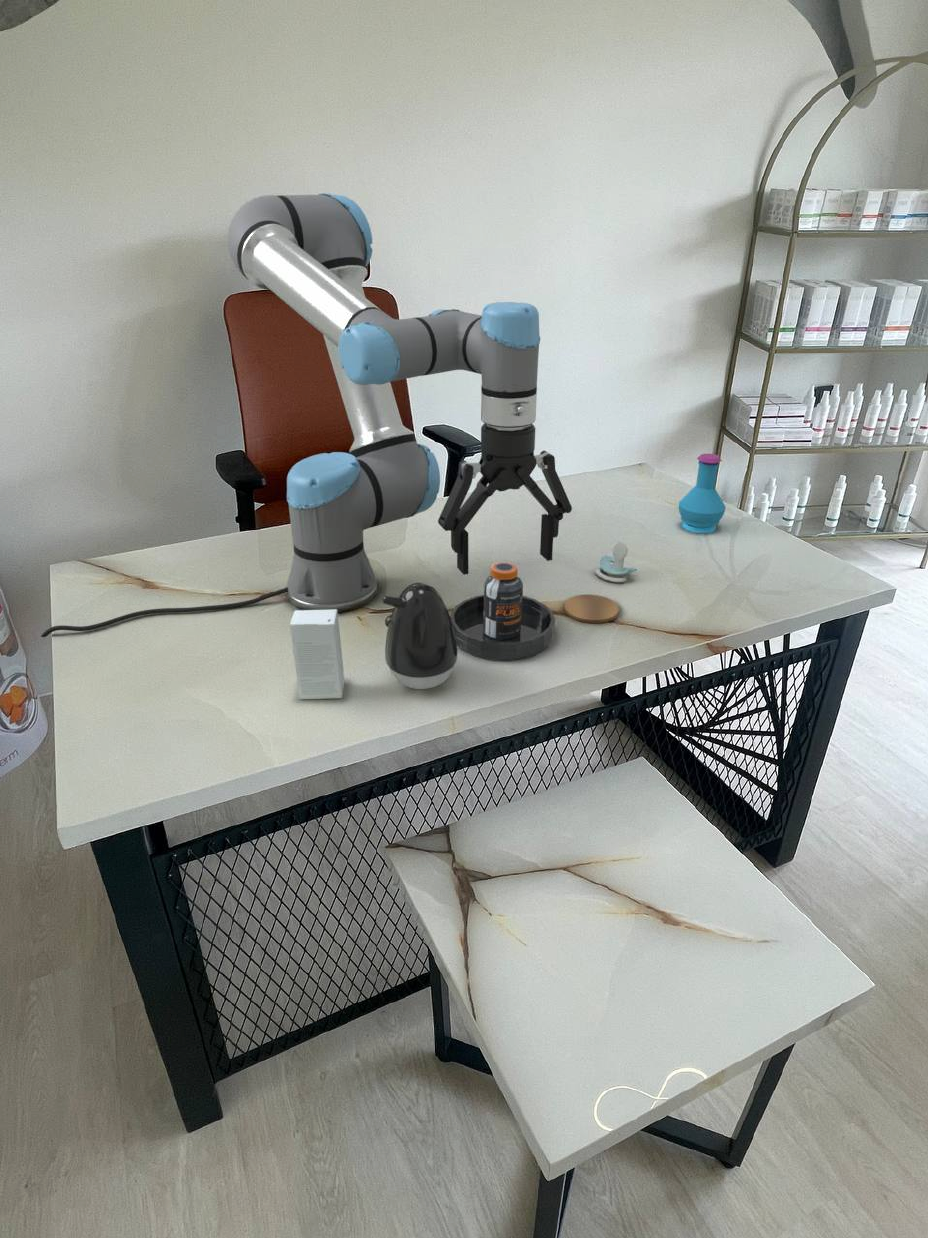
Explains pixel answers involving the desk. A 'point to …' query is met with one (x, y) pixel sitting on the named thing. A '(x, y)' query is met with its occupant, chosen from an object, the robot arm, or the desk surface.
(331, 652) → the cosmetic box
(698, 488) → the perfume bottle
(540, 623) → the pan
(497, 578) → the pill bottle
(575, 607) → the coaster
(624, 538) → the desk surface
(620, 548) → the pacifier
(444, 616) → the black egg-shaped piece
